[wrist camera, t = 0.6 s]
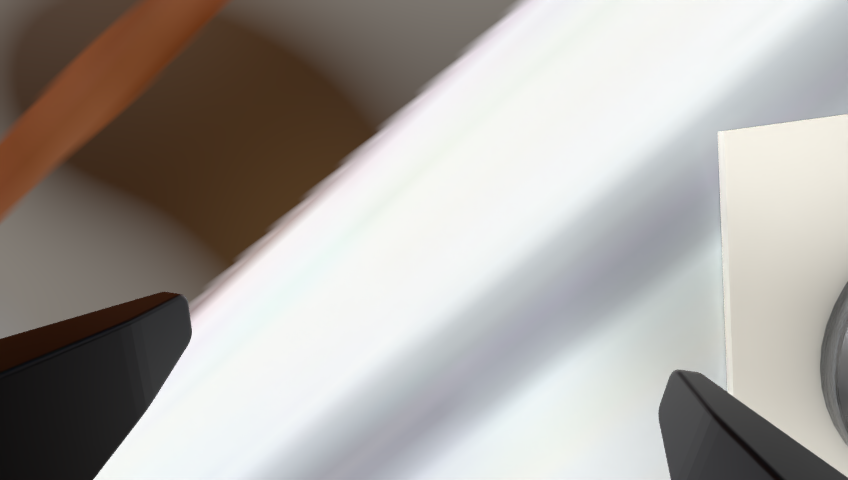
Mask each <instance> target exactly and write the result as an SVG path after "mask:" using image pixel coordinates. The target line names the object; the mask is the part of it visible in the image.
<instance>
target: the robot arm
mask: <svg viewBox="0 0 848 480" xmlns="http://www.w3.org/2000/svg"><path fill="white" fill-rule="evenodd" d="M191 335H192V328H191V320H190V313H189V305H188V300H187V299H186V297H185V296H184V295H182V294H177V293H170V292H160V293H157V294H153V295H150V296H146V297H143V298H139V299H136V300H133V301H129V302H126V303H123V304H119V305H115V306H112V307H109V308H105V309H102V310H98V311H95V312H91V313H88V314H84V315H81V316H77V317H74V318H71V319H67V320H64V321H60V322H57V323H53V324H50V325H47V326H43V327H40V328H36V329H33V330H29V331H26V332H23V333H19V334H15V335H12V336H9V337H5V338H2V339H0V480H93V479H94V478H95V477H96V475H97V474H98V473H99V471H100V470H101V469H102V468H103V466H104V465H105V464H106V462H107V461H108V460H109V459H110V457H111V456H112V455H113V453H114V452H115V451H116V450H117V448H118V447H119V446H120V444H121V443H122V442H123V440H124V439H125V438H126V437H127V435H128V434H129V433H130V431H131V430H132V429H133V428H134V426H135V425H136V424H137V422H138V421H139V420H140V418H141V417H142V416H143V414H144V413H145V412H146V410H147V409H148V407H149V406H150V404H151V403H152V401H153V400H154V398H155V397H156V395H157V394H158V392H159V390H160V389H161V387H162V386H163V384H164V382H165V381H166V379H167V378H168V376H169V374H170V373H171V371H172V370H173V368H174V366H175V365H176V363H177V362H178V360H179V359H180V357H181V355H182V354H183V352H184V351H185V349H186V347H187V346H188V344H189V342H190V339H191ZM659 423H660V428H661V433H662V438H663V443H664V448H665V453H666V458H667V463H668V467H669V472H670V477H671V480H848V477H846V476H845V475H843V474H842V473H841V472H839V471H838V470H836V469H835V468H834V467H832V466H831V465H829V464H828V463H827V462H825V461H824V460H822V459H821V458H819V457H818V456H817V455H815V454H814V453H812V452H811V451H810V450H808V449H807V448H805V447H804V446H803V445H801V444H800V443H798V442H797V441H796V440H794V439H793V438H791V437H790V436H788V435H787V434H786V433H784V432H783V431H781V430H780V429H779V428H777V427H776V426H774V425H773V424H772V423H770V422H769V421H767V420H766V419H764V418H763V417H762V416H760V415H759V414H757V413H756V412H755V411H753V410H752V409H750V408H749V407H748V406H746V405H745V404H743V403H742V402H741V401H739V400H738V399H736V398H735V397H733V396H732V395H731V394H729V393H728V392H726V391H725V390H724V389H722V388H721V387H719V386H718V385H717V384H715V383H714V382H712V381H711V380H710V379H708V378H707V377H705V376H704V375H702V374H701V373H698V372H692V371H685V370H675V371H673V372H672V374H671V375H670V377H669V380H668V383H667V386H666V389H665V392H664V395H663V398H662V400H661V403H660V407H659Z"/></svg>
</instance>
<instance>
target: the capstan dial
mask: <svg viewBox="0 0 848 480" xmlns="http://www.w3.org/2000/svg"><path fill="white" fill-rule="evenodd" d="M820 376H821V388H822V392H823V396H824V400H825V404H826V408H827V410H828V413H829V415H830V417H831V420H832V422H833V425H834V426H835V428H836V430H837V431H838V433H839V435H840V436H841V438H842V439H843V441H844V443H845V444H846V445H847V446H848V282H847V283H846V285H845V286H844V288H843V290H842V292H841V294H840V295H839V297H838V299H837V301H836V303H835V305H834V307H833V309H832V312H831V315H830V317H829V320H828V322H827V325H826V329H825V333H824V338H823V342H822V346H821V359H820Z"/></svg>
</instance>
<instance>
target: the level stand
mask: <svg viewBox="0 0 848 480" xmlns="http://www.w3.org/2000/svg"><path fill="white" fill-rule="evenodd" d="M718 155H719V182H720V208H721V235H722V262H723V288H724V315H725V342H726V368H727V392H728V393H729V394H731V395H732V396H733V397H735V398H736V399H738V400H739V401H741V402H742V403H743V404H745V405H746V406H748V407H749V408H750V409H752V410H753V411H755V412H756V413H757V414H759V415H760V416H762V417H763V418H764V419H766V420H767V421H769V422H770V423H772V424H773V425H774V426H776V427H777V428H779V429H780V430H781V431H783V432H784V433H786V434H787V435H788V436H790V437H791V438H793V439H794V440H796V441H797V442H798V443H800V444H801V445H803V446H804V447H805V448H807V449H808V450H810V451H811V452H812V453H814V454H815V455H817V456H818V457H819V458H821V459H822V460H824V461H825V462H827V463H828V464H829V465H831V466H832V467H834V468H835V469H836V470H838V471H839V472H841V473H842V474H843V475H845V476H846V477H848V446H847V445H846V444H845V443H844V441H843V439H842V438H841V436H840V435H839V433H838V431H837V430H836V428H835V426H834V425H833V422H832V420H831V417H830V415H829V413H828V410H827V408H826V404H825V400H824V396H823V392H822V388H821V376H820V359H821V346H822V342H823V338H824V333H825V329H826V325H827V322H828V320H829V317H830V315H831V312H832V309H833V307H834V305H835V303H836V301H837V299H838V297H839V295H840V294H841V292H842V290H843V288H844V286H845V285H846V283H847V282H848V114H844V115H836V116H829V117H822V118H814V119H807V120H800V121H792V122H785V123H777V124H770V125H763V126H755V127H748V128H741V129H733V130H726V131H719V132H718Z"/></svg>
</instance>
